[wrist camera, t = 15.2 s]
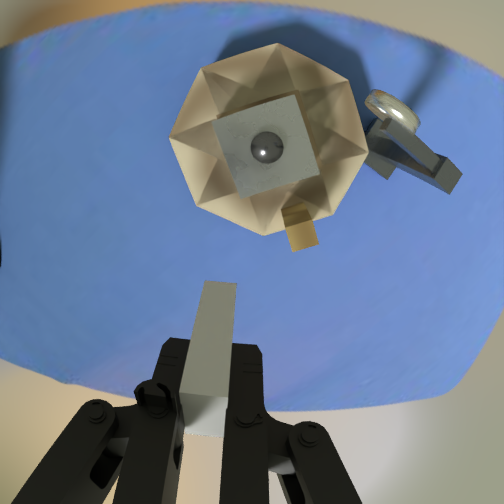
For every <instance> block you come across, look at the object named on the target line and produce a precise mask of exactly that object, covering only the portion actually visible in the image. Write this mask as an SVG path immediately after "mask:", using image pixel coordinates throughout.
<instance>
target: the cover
mask: <svg viewBox="0 0 504 504" xmlns="http://www.w3.org/2000/svg"><path fill="white" fill-rule="evenodd" d="M211 123H212V125H213V128H214V131H215V133H216V136H217V138H218V141H219V144H220V146H221V149H222V151H223V154H224V157H225V159H226V162H227V164H228V167H229V170H230V172H231V175H232V178H233V180H234V183H235V185H236V188H237V191H238V193H239V196H240V199H243V198H246V197H249V196H252V195H255V194H258V193H261V192H264V191H267V190H270V189H273V188H276V187H279V186H283V185H286V184H289V183H292V182H295V181H299V180H302V179H305V178H308V177H312V176H315V175H318V174H320V172H319V169H318V166H317V162H316V159H315V156H314V152H313V149H312V146H311V143H310V139H309V136H308V133H307V130H306V127H305V124H304V121H303V118H302V115H301V112H300V109H299V106H298V103H297V100H296V97H295V95H290V96H287V97H283V98H280V99H277V100H273V101H270V102H267V103H264V104H261V105H257V106H254V107H251V108H248V109H245V110H242V111H240V112H237V113H234V114H231V115H228V116H225V117H223V118H220V119H217V120H215V121H212V122H211Z"/></svg>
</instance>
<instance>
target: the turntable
mask: <svg viewBox="0 0 504 504" xmlns="http://www.w3.org/2000/svg"><path fill="white" fill-rule="evenodd" d="M290 95H295V97H296V100H297V103H298V106H299V109H300V112H301V115H302V118H303V121H304V124H305V127H306V130H307V133H308V136H309V139H310V143H311V146H312V149H313V152H314V156H315V159H316V162H317V166H318V169H319V172H320V174H318V175H315V176H312V177H308V178H305V179H302V180H299V181H295V182H292V183H289V184H286V185H283V186H279V187H276V188H273V189H270V190H267V191H264V192H261V193H258V194H255V195H252V196H249V197H246V198H243V199H240V196H239V193H238V191H237V188H236V185H235V183H234V180H233V178H232V175H231V172H230V170H229V167H228V164H227V162H226V159H225V157H224V154H223V151H222V149H221V146H220V144H219V141H218V138H217V136H216V133H215V131H214V128H213V125H212V123H211V122H212V121H215V120H217V119H220V118H223V117H225V116H228V115H231V114H234V113H237V112H240V111H242V110H245V109H248V108H251V107H254V106H257V105H261V104H264V103H267V102H270V101H273V100H277V99H280V98H283V97H287V96H290ZM169 139H170V142H171V144H172V147H173V149H174V152H175V154H176V157H177V159H178V162H179V164H180V167H181V169H182V172H183V174H184V177H185V179H186V182H187V184H188V186H189V189H190V191H191V194H192V196H193V199H194V201H195V203H196V206H198V207H200V208H203V209H205V210H207V211H209V212H211V213H214V214H216V215H218V216H220V217H223V218H225V219H227V220H229V221H231V222H234V223H236V224H238V225H240V226H242V227H245V228H247V229H249V230H251V231H253V232H256V233H258V234H260V235H262V236H265V235H268V234H272V233H275V232H278V231H281V230H285V229H286V233H287V236H288V239H289V242H290V245H291V248H292V251H293V252H295V251H298V250H301V249H305V248H308V247H311V246H315V245H318V244H319V243H318V239H317V235H316V232H315V228H314V224H313V221H314V220H317V219H321V218H324V217H327V216H331V215H333V214H334V212H335V210H336V209H337V207H338V205H339V204H340V202H341V200H342V198H343V197H344V195H345V193H346V192H347V190H348V188H349V187H350V185H351V183H352V181H353V180H354V178H355V176H356V174H357V173H358V171H359V169H360V167H361V166H362V164H363V162H364V160H365V159H366V157H367V155H368V153H369V151H368V147H367V143H366V139H365V135H364V131H363V127H362V124H361V120H360V117H359V113H358V110H357V106H356V103H355V99H354V96H353V93H352V90H351V87H350V84H349V81H348V80H347V79H345V78H344V77H342V76H340V75H339V74H337V73H335V72H333V71H332V70H330V69H328V68H326V67H325V66H323V65H321V64H319V63H317V62H315V61H313V60H312V59H310V58H308V57H306V56H304V55H302V54H300V53H298V52H296V51H294V50H292V49H290V48H288V47H286V46H283V45H281V44H279V43H276V44H272V45H268V46H265V47H261V48H258V49H254V50H251V51H248V52H244V53H241V54H238V55H235V56H232V57H229V58H226V59H223V60H221V61H218V62H215V63H212V64H210V65H207V66H204V67H202V68H201V69H200V71H199V73H198V75H197V77H196V79H195V81H194V83H193V85H192V87H191V89H190V91H189V93H188V95H187V97H186V99H185V102H184V104H183V106H182V108H181V110H180V113H179V115H178V117H177V119H176V122H175V124H174V126H173V128H172V131H171V133H170V135H169Z"/></svg>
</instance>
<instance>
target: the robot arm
mask: <svg viewBox="0 0 504 504" xmlns="http://www.w3.org/2000/svg"><path fill="white" fill-rule="evenodd" d="M0 265H1V255H0ZM236 285H237V283H227V282H215V281H205V282H204V286H203V290H202V294H201V298H200V302H199V307H198V311H197V315H196V319H195V323H194V327H193V332H192V336H191V340H188V339H179V338H171V337H170V338H169V339H168V340H167V341H166V342H165V343H164V344H163V345H162V348H161V351H160V354H159V358H158V361H157V365H156V367H155V370H154V374H153V377H152V379H150V380H147V381H143V382H142V383H140V384H139V385H138V386H137V387H136V389H135V390H134V394H135V397H136V400H137V404H135V405H131V406H123V407H112V405H111V404H110V403H108V402H107V401H104V400H101V399H93V400H90V401H88V402H86V403H85V404H84V405H82V406H81V408H80V409H79V410H78V412H77V413H76V414H75V416H74V417H73V418H72V420H71V421H70V422H69V424H68V425H67V426H66V428H65V429H64V430H63V432H62V433H61V434H60V436H59V437H58V438H57V440H56V441H55V442H54V444H53V445H52V446H51V448H50V449H49V451H48V452H47V453H46V455H45V456H44V457H43V459H42V460H41V462H40V463H39V464H38V466H37V467H36V469H35V470H34V471H33V473H32V474H31V476H30V477H29V478H28V480H27V481H26V483H25V484H24V486H23V487H22V488H21V490H20V491H19V493H18V495H17V496H16V497H15V499H14V500H13V502H12V503H11V504H102V503H103V502H104V500H105V498H106V497H107V495H108V493H109V492H110V490H111V488H112V486H113V485H114V483H115V481H116V480H117V478H118V476H119V478H118V482H117V486H116V490H115V494H114V499H113V503H112V504H176V497H177V489H178V482H179V474H180V468H181V461H182V454H183V448H184V446H183V434H184V429H185V433H186V434H195V435H203V436H213V437H224V441H223V454H222V470H221V484H220V500H219V504H269V478H268V471H272V472H275V473H277V476H278V478H279V481H280V484H281V487H282V490H283V493H284V495H285V498H286V501H287V503H288V504H362V502H361V500H360V498H359V496H358V494H357V492H356V489H355V488H354V485H353V483H352V481H351V479H350V477H349V475H348V473H347V471H346V469H345V467H344V465H343V463H342V461H341V459H340V457H339V455H338V453H337V450H336V448H335V446H334V444H333V442H332V440H331V438H330V436H329V434H328V432H327V431H326V429H325V428H324V427H323V426H321V425H320V424H318V423H315V422H311V421H305V422H301V423H298V424H296V425H294V426H293V425H290V424H286V423H283V422H280V421H277V420H275V419H274V418H272V417H271V416H270V415H269V414H268V413H267V411H266V409H265V407H264V393H263V366H262V353H261V351H260V350H259V348H258V346H257V345H252V344H238V343H232V337H233V324H234V311H235V298H236Z"/></svg>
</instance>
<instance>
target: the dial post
mask: <svg viewBox="0 0 504 504" xmlns="http://www.w3.org/2000/svg"><path fill="white" fill-rule="evenodd" d="M365 105H366V106H367V107H368V108H369V109H370V110H371V111H372V112H373V113H374V114H375V115H376V116H378V117H379V118H380V119H381V120H383V121H384V122H382V121H381V120H379V119H378V118H374V120H373V121H372V123H371V124H370V126H369V127H368V129H367V131H366V132H365V134H364V135H365V139H366V143H367V147H368V151H369V153H368V155H367V157H366V159H365V160H364V163H365V164H367V165H368V166H369V167H371V168H372V169H373V170H375V171H376V172H377V173H378V174H380V175H381V176H382V177H384V178H385V179H387V180H388V178H389V177H390V175H391V174H392V172H393V171H394V170H395V168H396V167H397V168H399V169H401V170H403V171H405V172H407V173H409V174H411V175H413V176H415V177H417V178H419V179H421V180H423V181H425V182H427V183H429V184H431V185H433V186H435V187H436V188H438V189H440V190H442V191H444V192H446V193H447V194H449V195H450V193H451V192H452V190H453V188H454V187H455V185H456V184H457V182H458V181H459V179H460V177H461V176H462V173H461V172H460V170H459V169H458V168H457V167H456V166H455V165H454V164H453V163H452V162H451V161H450V160H449V159H448V157H445V156H442V155H439V154H436V153H434V152H433V151H432V150H431V149H430V148H429V147H428V146H427V145H426V144H425V143H423V142H422V141H421V140H420V139H419V138H418V137H417V136H416V135H415V132H416V131H417V129H418V128H419V126H420V124H421V122H420V119H419V118H418V116H417V115H416V114H415V113H414V112H413V111H412V110H411V109H410V108H409V107H408V106H407V105H405V104H404V103H403V102H401V101H400V100H398V99H397V98H395V97H394V96H392V95H390V94H388V93H386V92H384V91H381V90H377V89H373V90H372V91H371V93H370V94H369V96H368V97H367V99H366V100H365Z"/></svg>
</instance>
